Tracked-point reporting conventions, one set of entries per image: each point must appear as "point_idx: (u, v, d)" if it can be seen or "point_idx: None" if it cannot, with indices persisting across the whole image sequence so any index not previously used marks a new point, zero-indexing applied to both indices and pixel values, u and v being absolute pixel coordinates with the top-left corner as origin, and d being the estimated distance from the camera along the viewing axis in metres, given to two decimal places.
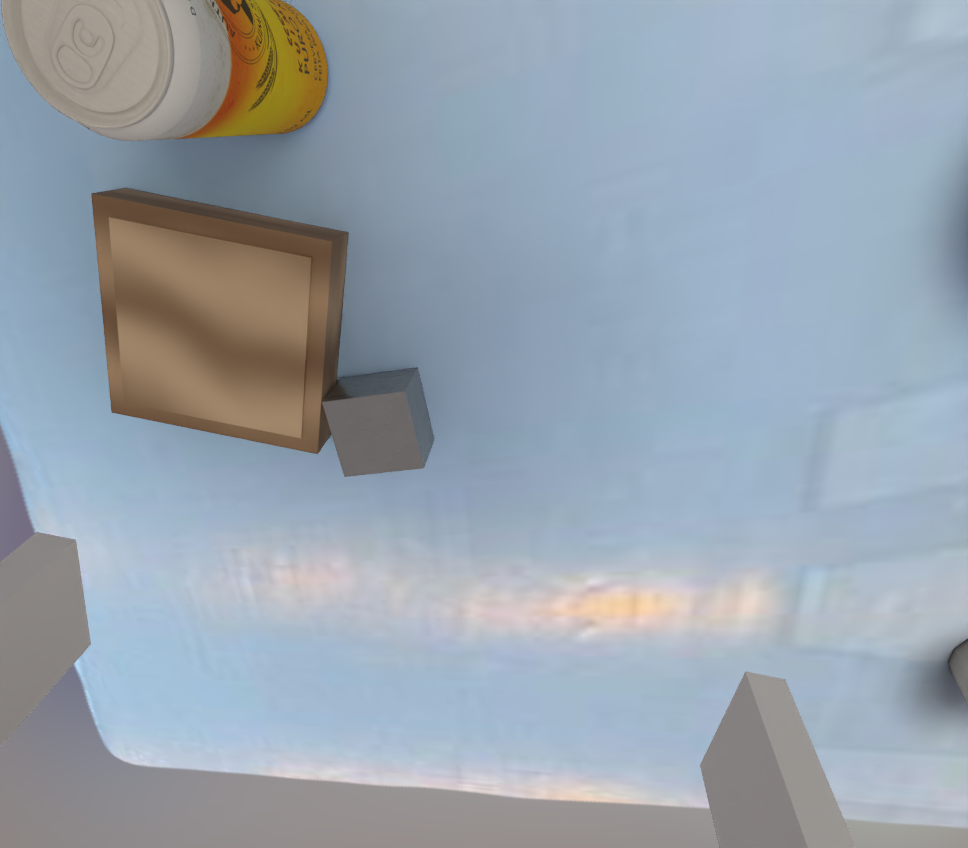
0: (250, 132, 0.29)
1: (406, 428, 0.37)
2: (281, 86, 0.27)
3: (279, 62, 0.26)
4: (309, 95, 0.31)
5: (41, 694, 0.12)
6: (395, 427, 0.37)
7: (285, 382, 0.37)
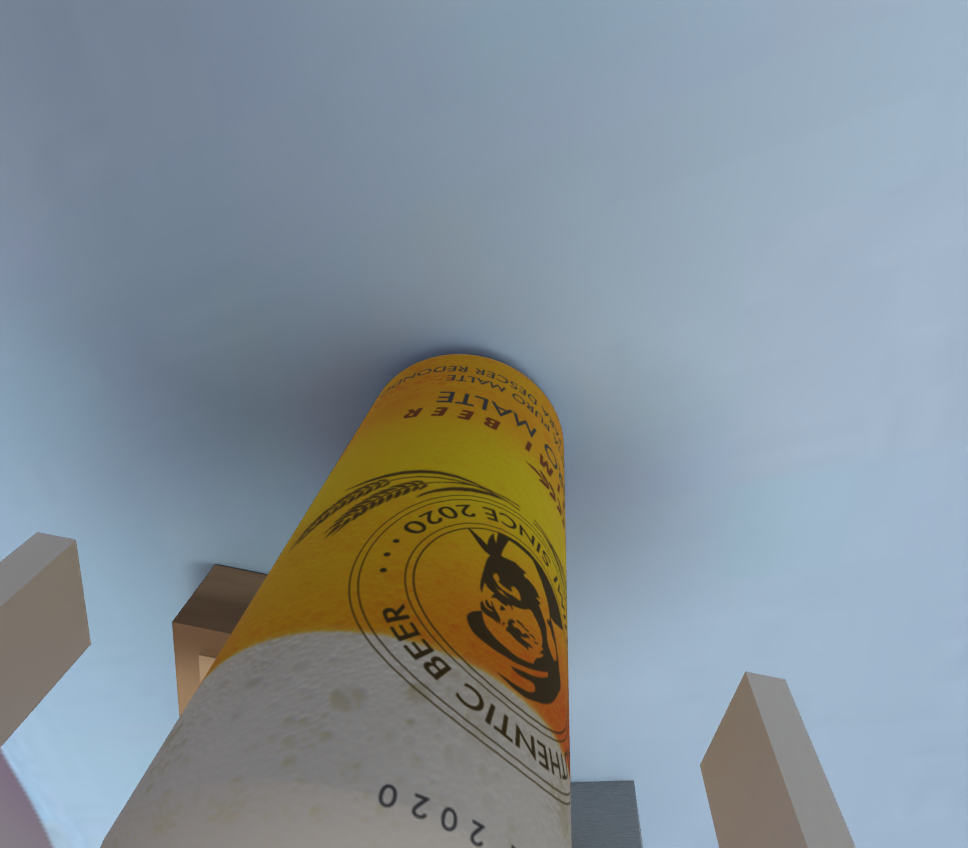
0: None
1: None
2: None
3: None
4: None
5: (41, 694, 0.12)
6: None
7: None
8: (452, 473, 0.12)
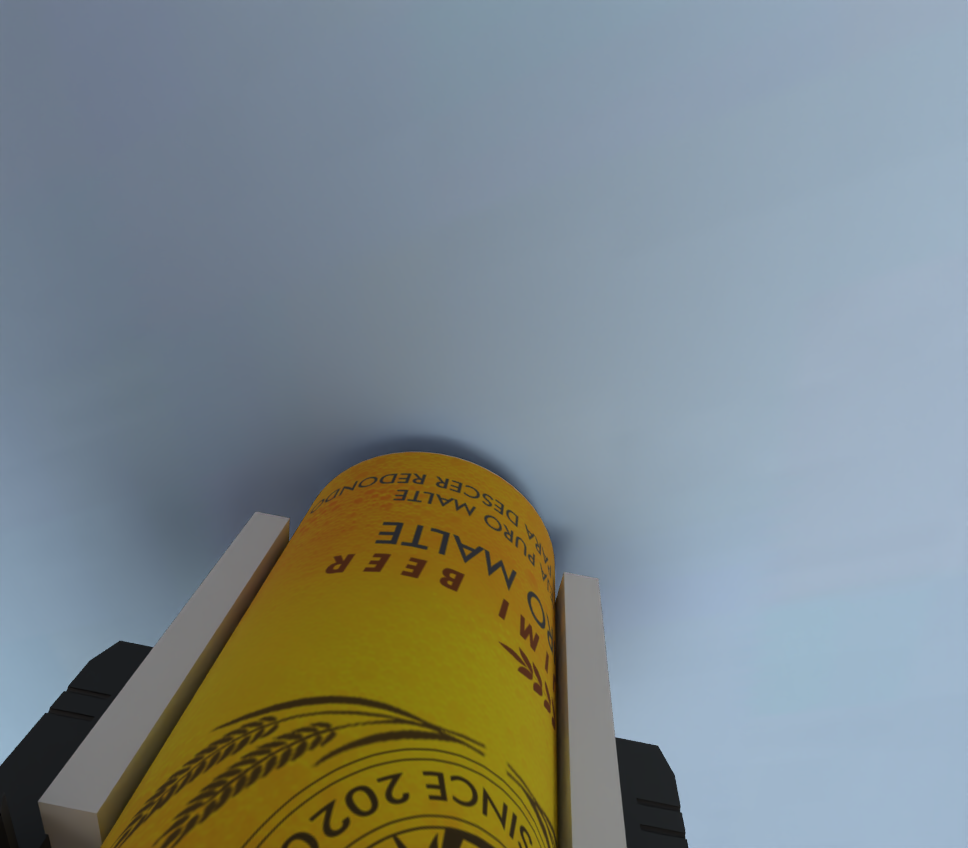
0: None
1: None
2: None
3: None
4: None
5: None
6: None
7: None
8: (379, 700, 0.08)
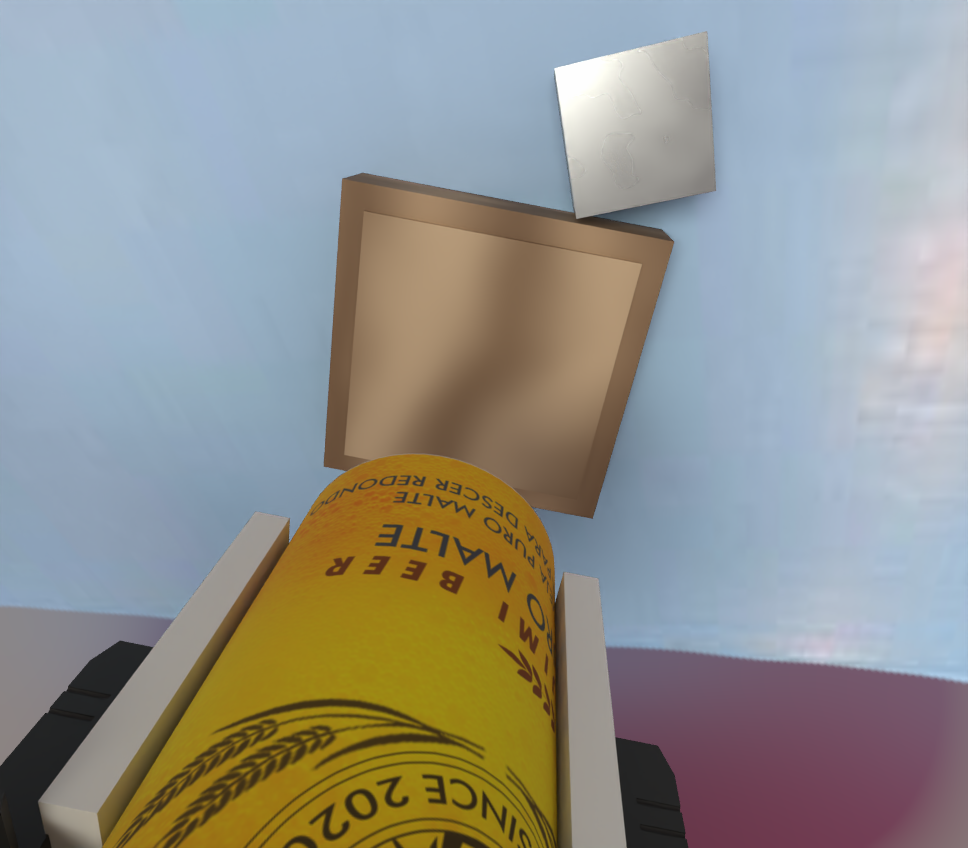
0: None
1: (625, 66, 0.21)
2: None
3: None
4: None
5: None
6: (622, 89, 0.22)
7: (547, 275, 0.25)
8: (379, 703, 0.08)
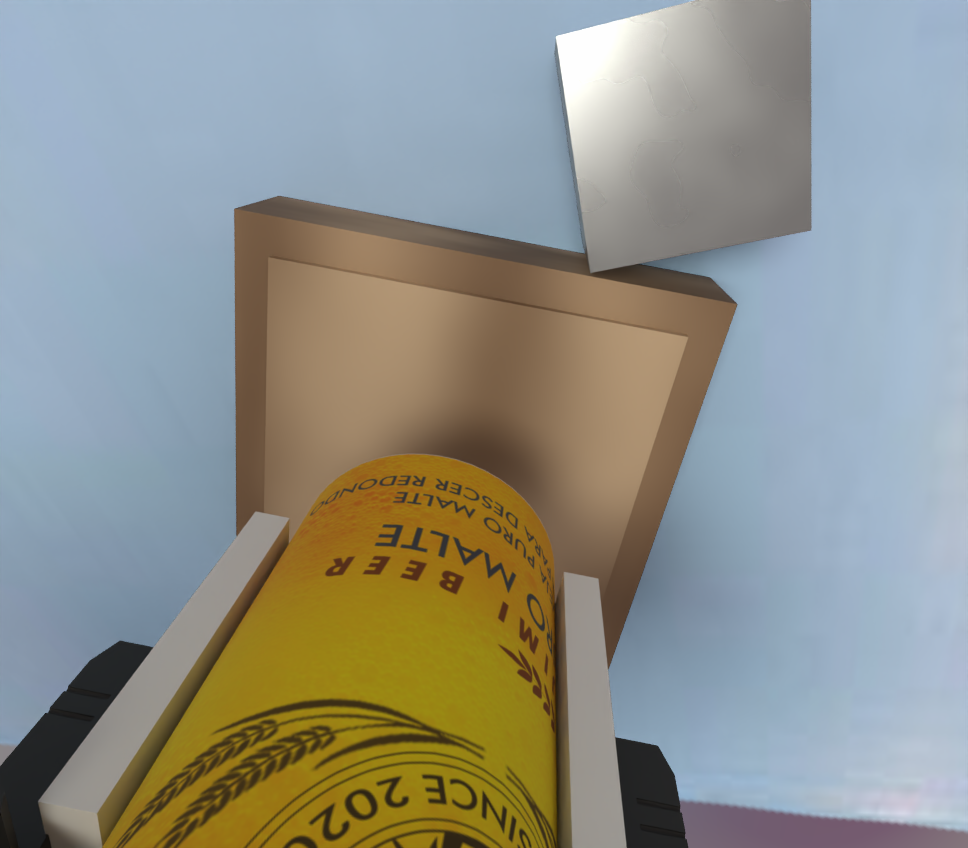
0: None
1: (672, 32, 0.13)
2: None
3: None
4: None
5: None
6: (667, 69, 0.13)
7: (545, 351, 0.17)
8: (379, 704, 0.08)
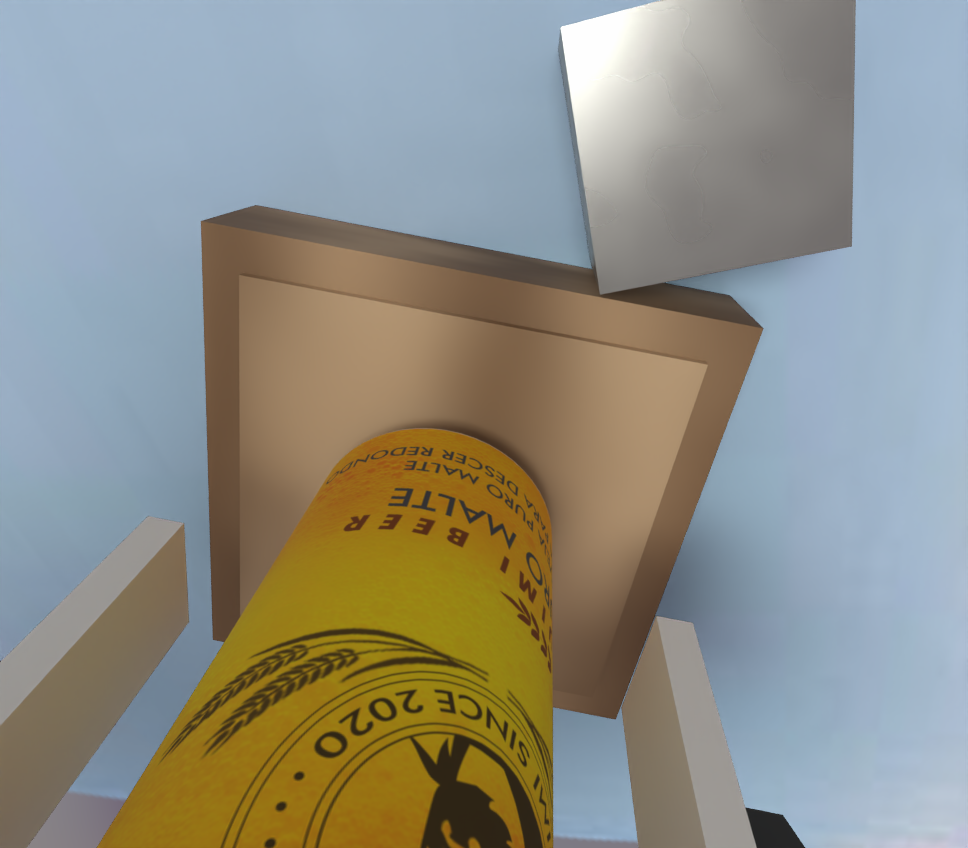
0: None
1: (695, 22, 0.11)
2: None
3: None
4: None
5: (153, 666, 0.13)
6: (688, 64, 0.12)
7: (548, 379, 0.15)
8: (395, 632, 0.09)
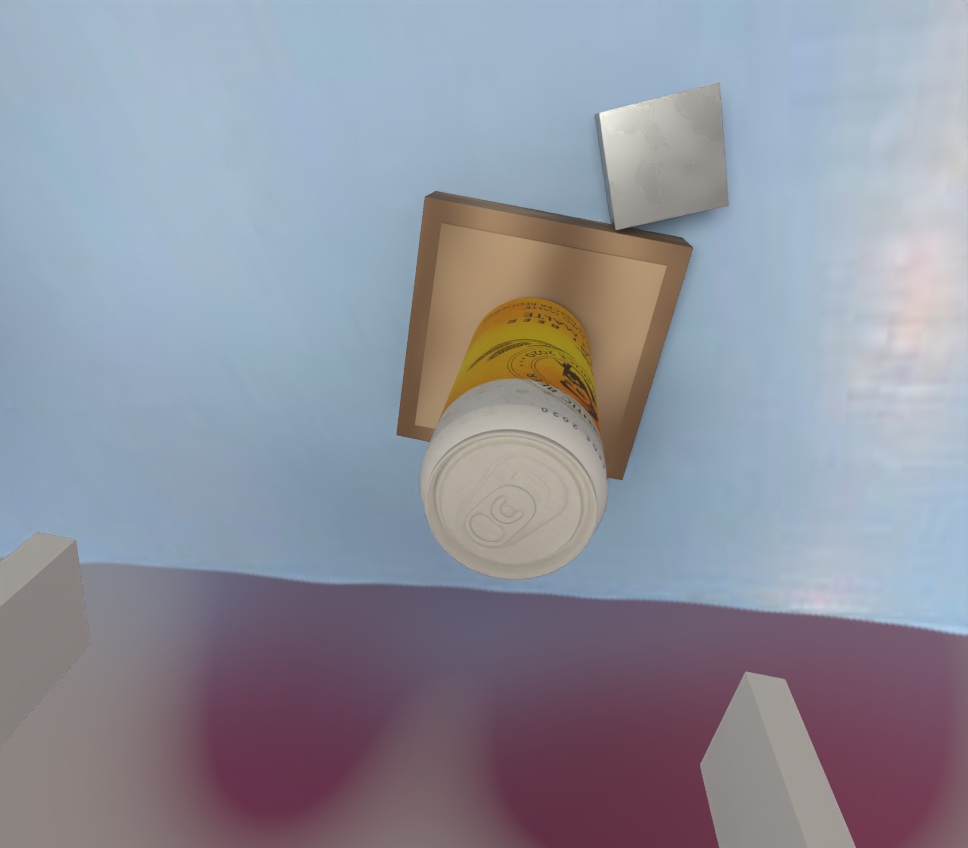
0: None
1: (655, 110, 0.27)
2: None
3: None
4: None
5: (41, 694, 0.12)
6: (653, 127, 0.27)
7: (589, 274, 0.31)
8: (541, 340, 0.25)
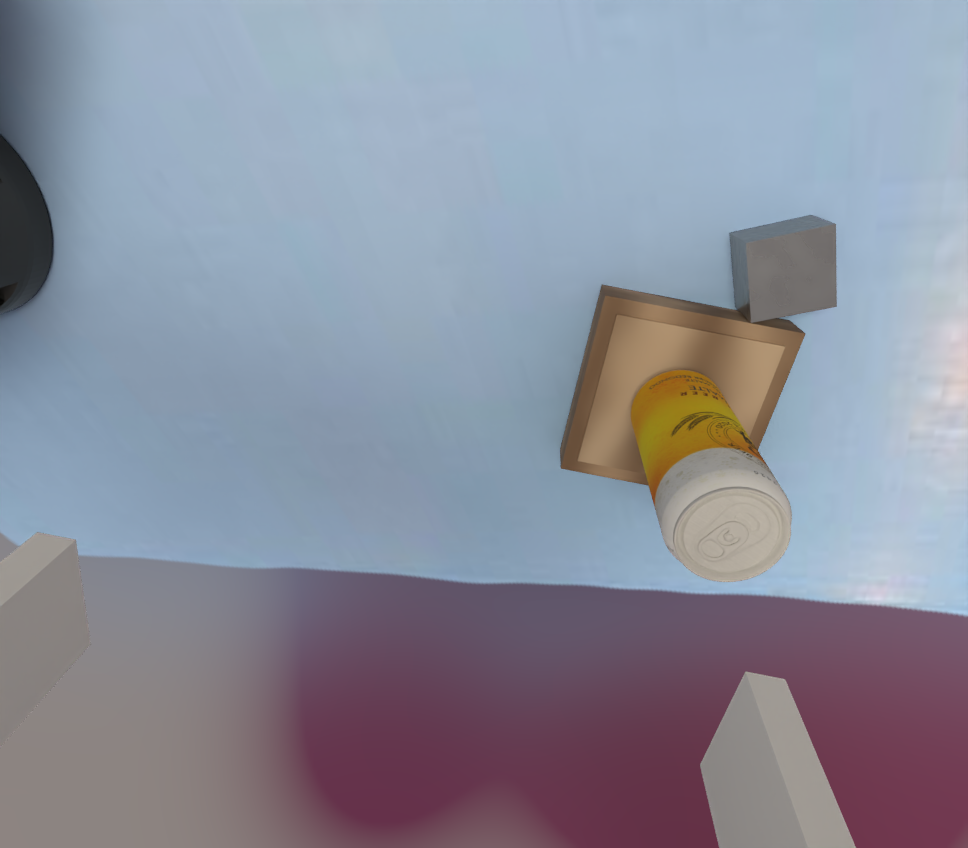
0: None
1: (787, 242, 0.38)
2: None
3: None
4: None
5: (41, 694, 0.12)
6: (784, 253, 0.38)
7: (726, 352, 0.41)
8: (717, 413, 0.35)
